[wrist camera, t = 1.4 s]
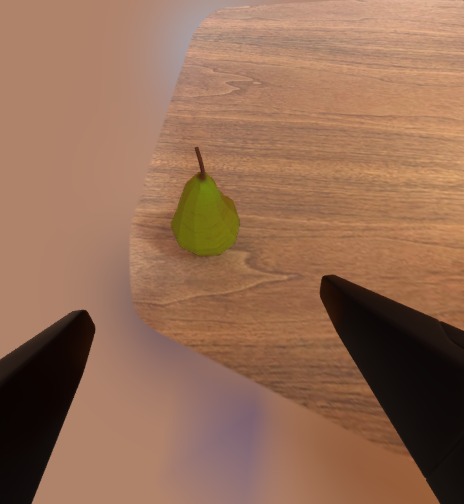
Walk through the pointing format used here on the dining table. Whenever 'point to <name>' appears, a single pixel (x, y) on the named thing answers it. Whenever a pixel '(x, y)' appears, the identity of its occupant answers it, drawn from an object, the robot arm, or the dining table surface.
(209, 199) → the fruit
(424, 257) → the dining table surface
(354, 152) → the dining table surface
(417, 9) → the dining table surface
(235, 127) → the dining table surface
